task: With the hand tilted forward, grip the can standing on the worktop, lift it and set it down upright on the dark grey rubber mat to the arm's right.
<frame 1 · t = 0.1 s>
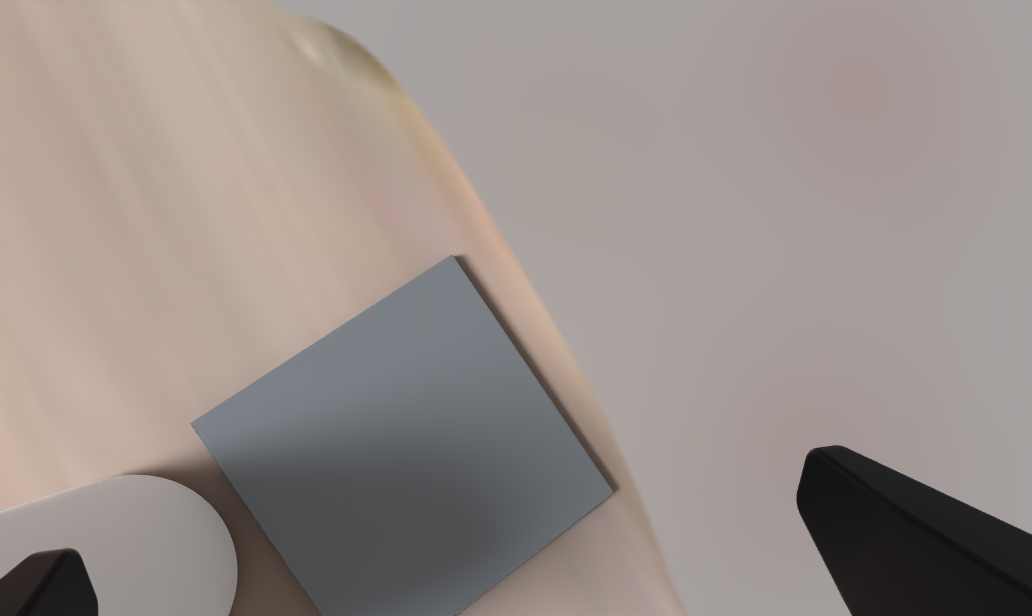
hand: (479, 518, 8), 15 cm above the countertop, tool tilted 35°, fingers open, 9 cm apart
mat: (411, 458, 23), on the countertop
can: (134, 576, 21), on the countertop
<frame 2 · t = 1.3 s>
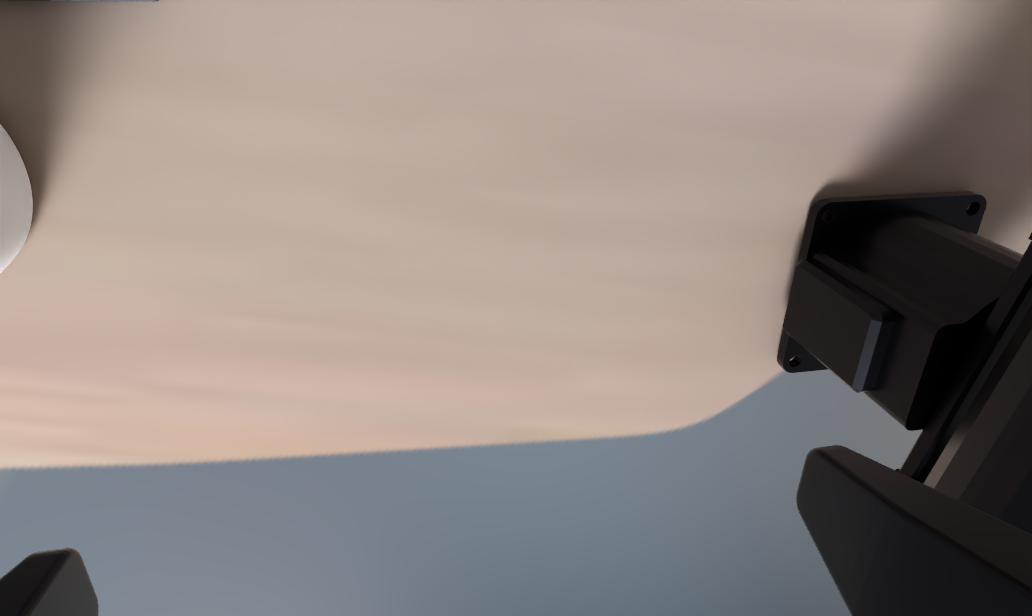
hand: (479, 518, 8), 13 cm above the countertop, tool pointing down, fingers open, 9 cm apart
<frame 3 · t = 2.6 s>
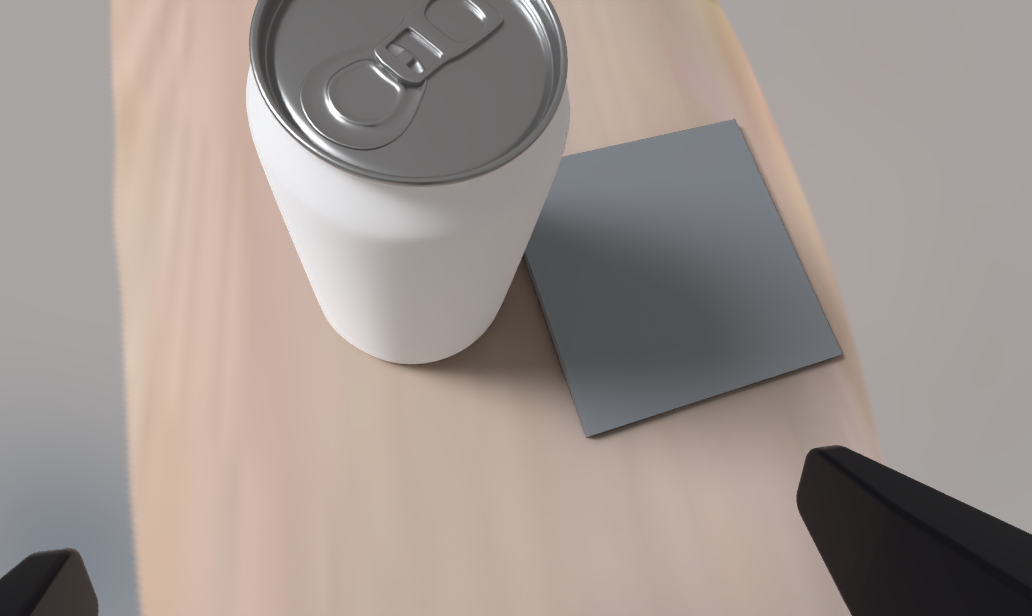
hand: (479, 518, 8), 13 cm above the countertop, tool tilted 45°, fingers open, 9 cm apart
mat: (665, 266, 25), on the countertop
can: (412, 278, 23), on the countertop
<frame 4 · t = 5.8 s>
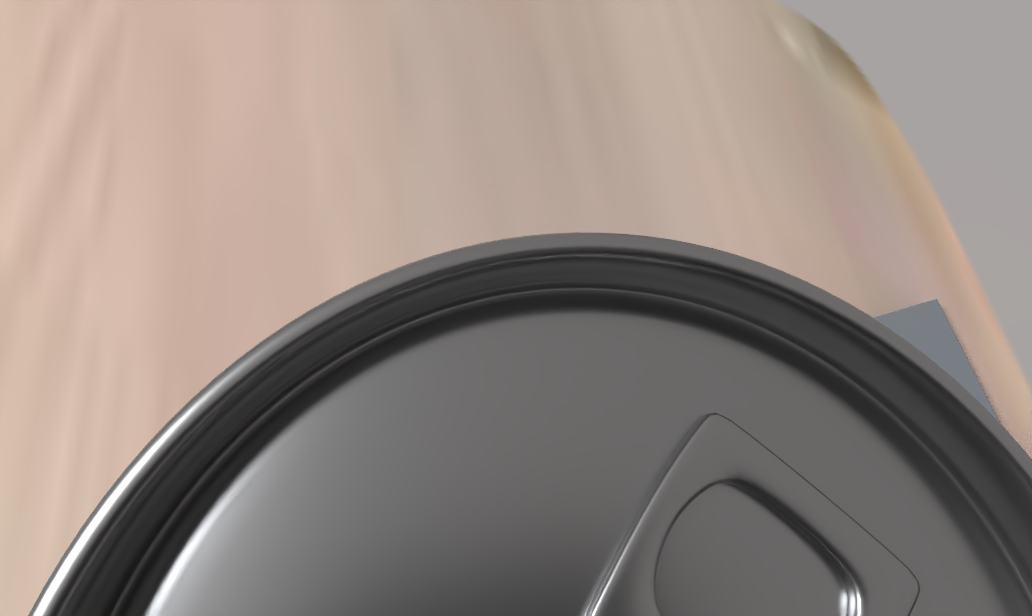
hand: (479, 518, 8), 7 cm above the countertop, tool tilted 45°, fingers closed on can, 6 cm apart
mat: (853, 551, 16), on the countertop
can: (457, 595, 14), on the countertop, touching gripper
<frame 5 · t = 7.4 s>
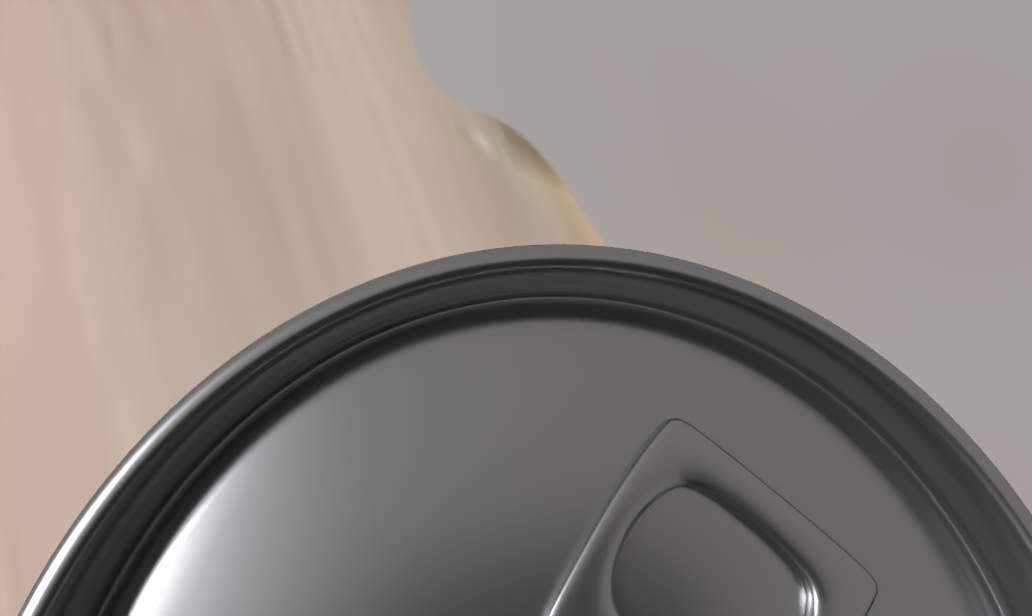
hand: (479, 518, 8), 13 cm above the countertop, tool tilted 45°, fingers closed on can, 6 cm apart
can: (475, 586, 15), point 6 cm above the countertop, touching gripper
when the fingers open (8 cm above the countertop, at t = 9.1 s): can stays where it is, resting on mat.
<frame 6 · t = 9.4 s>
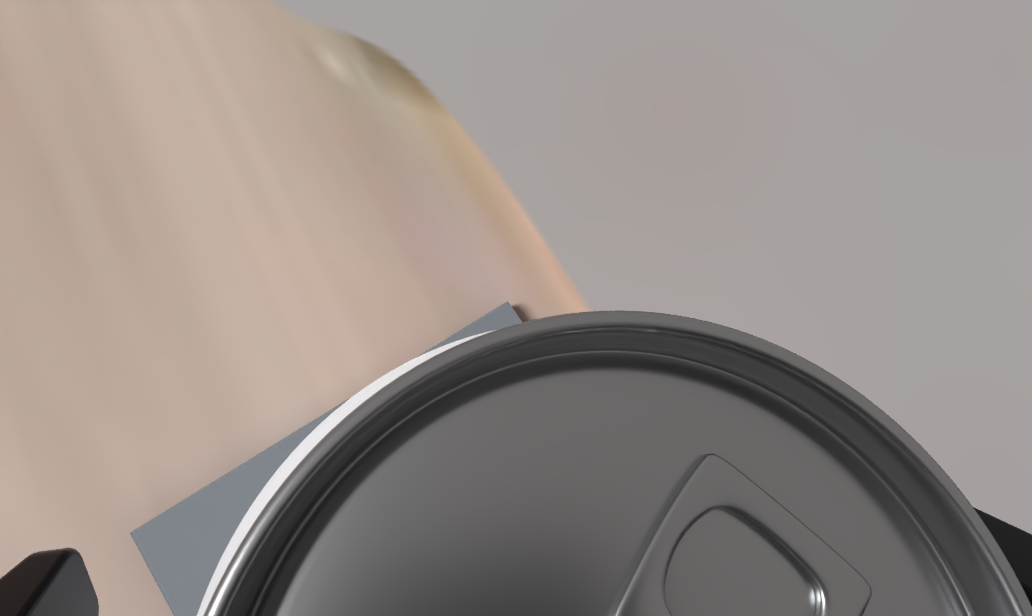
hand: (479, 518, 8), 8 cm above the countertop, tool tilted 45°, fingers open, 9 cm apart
mat: (450, 590, 15), on the countertop
can: (473, 594, 15), resting on mat
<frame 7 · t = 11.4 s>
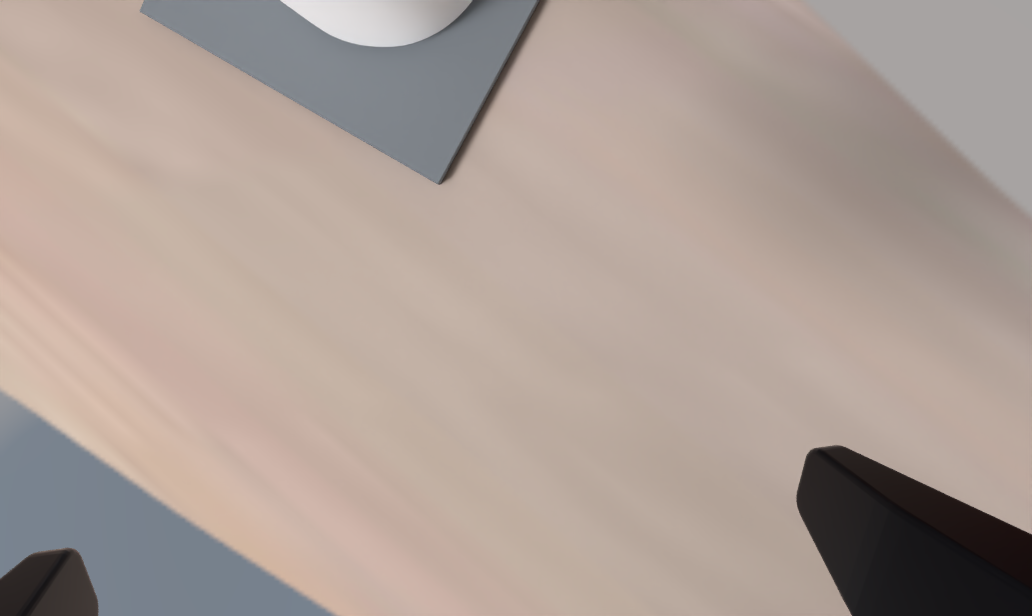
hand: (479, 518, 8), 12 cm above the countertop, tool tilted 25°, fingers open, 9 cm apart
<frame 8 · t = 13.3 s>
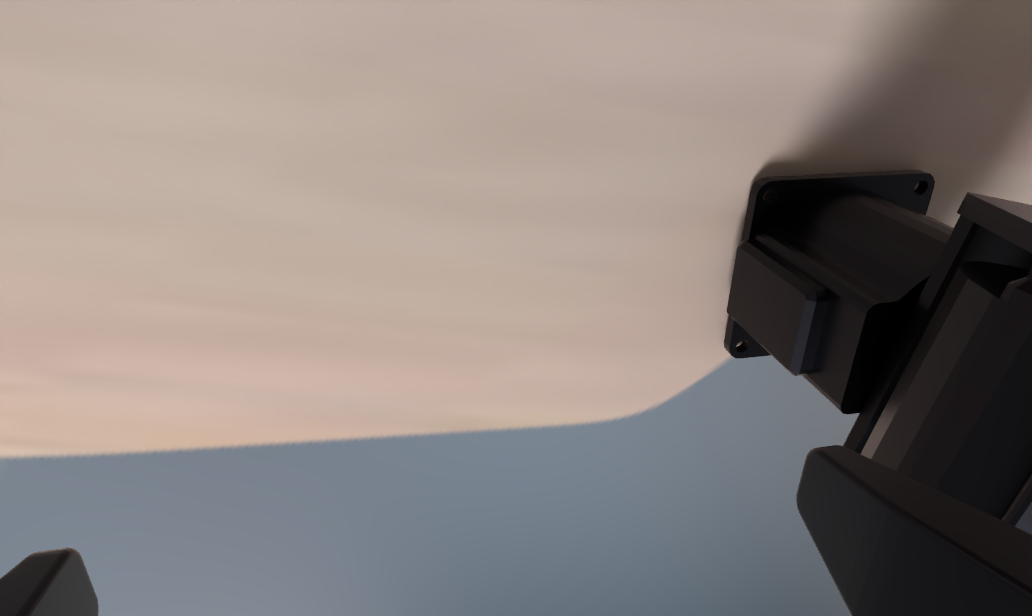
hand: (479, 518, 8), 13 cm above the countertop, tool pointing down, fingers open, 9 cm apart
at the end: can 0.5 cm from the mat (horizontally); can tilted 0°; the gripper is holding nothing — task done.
